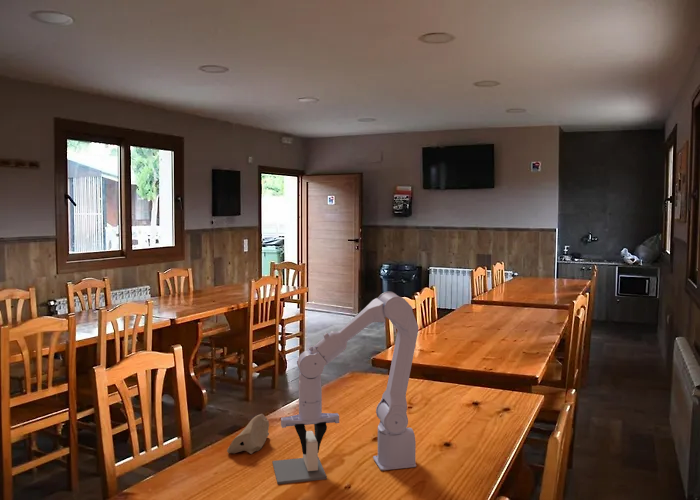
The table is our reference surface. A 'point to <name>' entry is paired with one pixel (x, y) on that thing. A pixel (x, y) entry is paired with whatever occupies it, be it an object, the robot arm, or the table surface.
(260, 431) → the grey animal figurine
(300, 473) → the mat
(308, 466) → the block
